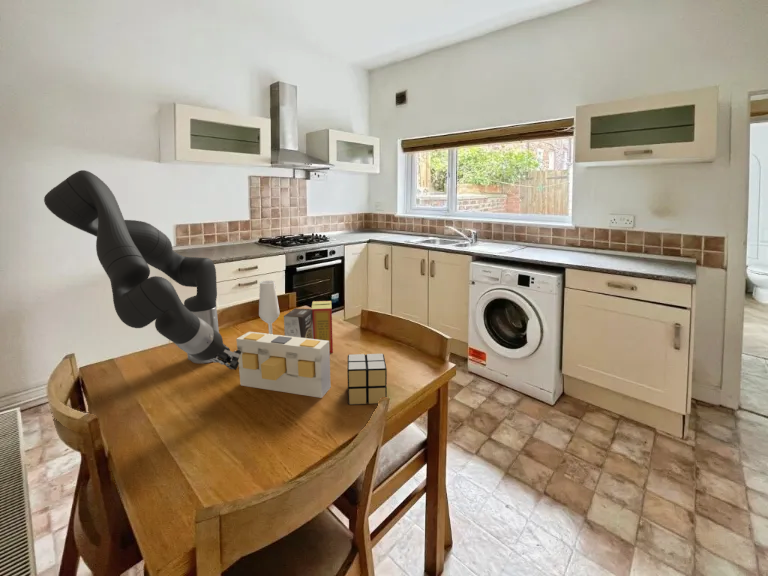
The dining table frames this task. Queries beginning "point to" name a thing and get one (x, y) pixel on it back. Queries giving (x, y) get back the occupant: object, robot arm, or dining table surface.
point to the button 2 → (273, 368)
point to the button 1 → (250, 361)
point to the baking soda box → (322, 321)
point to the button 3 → (306, 368)
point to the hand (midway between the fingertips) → (235, 365)
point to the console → (293, 353)
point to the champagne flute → (268, 303)
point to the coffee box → (299, 323)
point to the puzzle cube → (366, 378)
